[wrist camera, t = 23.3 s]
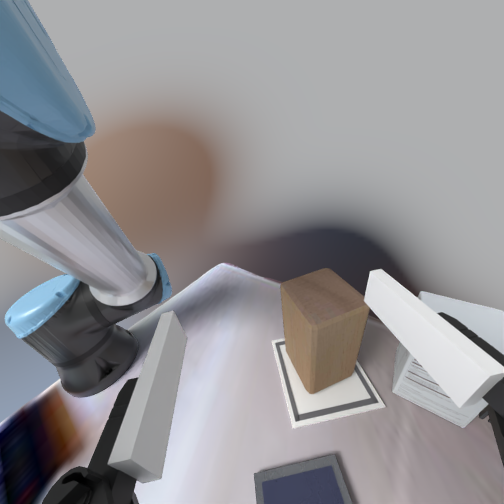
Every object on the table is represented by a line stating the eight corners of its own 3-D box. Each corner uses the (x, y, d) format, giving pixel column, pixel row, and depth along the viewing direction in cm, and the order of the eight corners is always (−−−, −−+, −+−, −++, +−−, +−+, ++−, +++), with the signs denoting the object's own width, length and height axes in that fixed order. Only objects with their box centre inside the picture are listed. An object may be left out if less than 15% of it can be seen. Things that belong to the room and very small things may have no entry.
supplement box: (465, 431, 29) (533, 371, 20) (390, 393, 34) (419, 333, 25) (457, 373, 35) (506, 309, 26) (395, 349, 40) (419, 288, 31)
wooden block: (322, 333, 45) (328, 264, 34) (355, 376, 36) (375, 301, 26) (284, 349, 43) (277, 281, 32) (308, 398, 34) (311, 327, 24)
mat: (271, 342, 45) (271, 340, 45) (336, 328, 46) (336, 326, 46) (292, 429, 32) (292, 427, 31) (385, 407, 32) (385, 406, 32)
